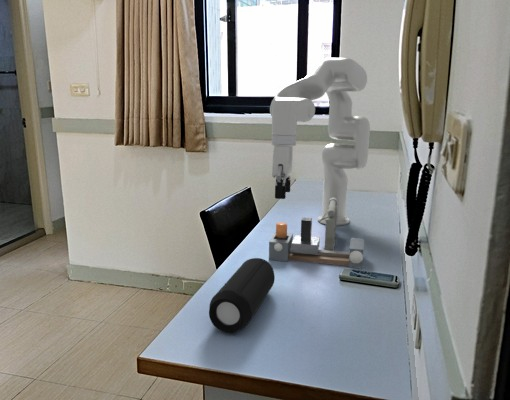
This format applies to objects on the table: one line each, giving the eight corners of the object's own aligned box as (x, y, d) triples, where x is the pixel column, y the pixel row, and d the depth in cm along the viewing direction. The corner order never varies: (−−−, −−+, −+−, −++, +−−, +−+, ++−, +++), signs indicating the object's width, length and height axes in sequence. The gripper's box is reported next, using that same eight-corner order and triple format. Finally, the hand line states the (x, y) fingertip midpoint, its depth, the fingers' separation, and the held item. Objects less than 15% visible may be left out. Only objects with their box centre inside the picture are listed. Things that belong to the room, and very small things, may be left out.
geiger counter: (339, 211, 151) (340, 193, 175) (319, 210, 153) (323, 192, 176) (336, 251, 155) (338, 229, 179) (317, 250, 156) (322, 227, 180)
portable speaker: (242, 286, 128) (242, 252, 126) (276, 291, 126) (277, 257, 123) (205, 333, 105) (204, 292, 102) (247, 340, 102) (247, 298, 100)
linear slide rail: (274, 248, 157) (275, 232, 156) (362, 256, 151) (363, 239, 149) (268, 259, 147) (268, 242, 146) (362, 268, 141) (363, 250, 139)
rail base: (274, 249, 156) (274, 242, 155) (362, 257, 150) (363, 250, 149) (269, 258, 149) (269, 251, 148) (362, 267, 142) (362, 259, 141)
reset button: (276, 233, 152) (277, 222, 151) (287, 234, 151) (288, 223, 150) (274, 237, 149) (275, 225, 148) (285, 238, 148) (286, 226, 147)
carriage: (295, 243, 154) (296, 214, 151) (319, 245, 152) (320, 216, 150) (291, 252, 146) (292, 221, 144) (316, 254, 145) (318, 223, 142)
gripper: (277, 136, 151) (276, 188, 156) (266, 143, 135) (265, 201, 139) (299, 137, 150) (298, 189, 154) (291, 144, 133) (290, 202, 137)
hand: (282, 194), depth 146 cm, fingers open, 8 cm apart
